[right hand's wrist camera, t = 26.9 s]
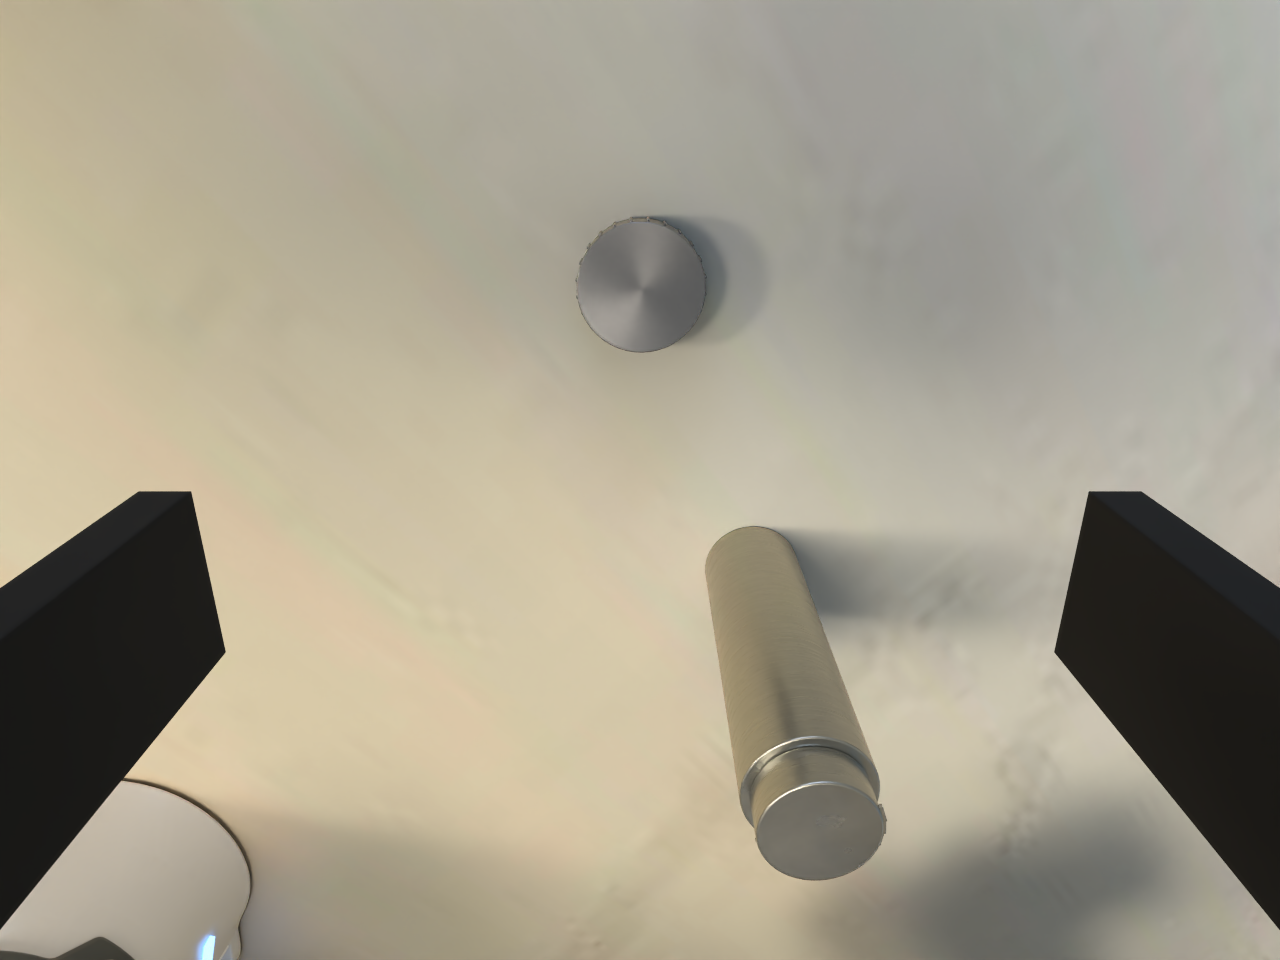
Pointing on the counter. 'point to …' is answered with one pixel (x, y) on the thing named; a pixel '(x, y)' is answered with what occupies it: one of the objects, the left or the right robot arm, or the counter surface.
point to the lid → (641, 285)
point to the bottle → (789, 714)
